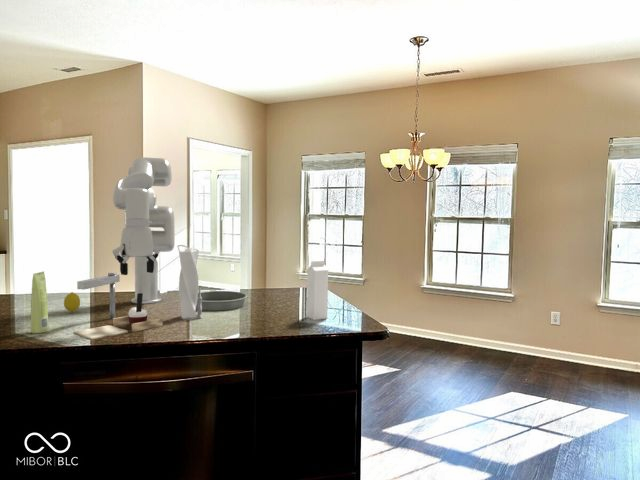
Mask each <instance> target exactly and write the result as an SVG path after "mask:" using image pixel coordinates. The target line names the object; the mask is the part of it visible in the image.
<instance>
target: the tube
mask: <svg viewBox="0 0 640 480" xmlns="http://www.w3.org/2000/svg"><path fill="white" fill-rule="evenodd" d="M32 275H33V276H32V279H31V280H32V281H31V283H32V284H31V293H30V294H31V298H30V299H31V300H30V301H31V302H30V307H31V308H30V333H32V334H43V333H45V332H48V331H49V311H48V310H49V309H48V308H49V307H48V294H47V293H48V291H47V284H46V283H47V282H46V275H45V271H39V272H35V273H33V274H32Z"/></svg>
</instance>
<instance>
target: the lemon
mask: <svg viewBox="0 0 640 480" xmlns="http://www.w3.org/2000/svg"><path fill="white" fill-rule="evenodd" d="M80 305H81V300H80V297H79V295H78V294H77V293H74V292H72V291H71V292H70V293H68V294H67V295H65V297H64V299H63V306H64V308H65V310H67V311H68V312H70V313H74V312H75V311H77V310H79V308H80Z"/></svg>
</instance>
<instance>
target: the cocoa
mask: <svg viewBox="0 0 640 480" xmlns="http://www.w3.org/2000/svg"><path fill="white" fill-rule="evenodd" d="M142 297H143V294H142V293H138V294H137V303H136V306H135V307H131V308H130V309H129V310H128V315H127V316H128V318H129V323H128V324H129V325H130V326H132V324H133V323H139V322H144V321H148V311H147V310H146V309H144V308H142V307H143V304H142Z"/></svg>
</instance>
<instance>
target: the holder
mask: <svg viewBox="0 0 640 480" xmlns="http://www.w3.org/2000/svg"><path fill="white" fill-rule="evenodd" d="M128 316H129V315H125V316H119V317H115V318H113V319H112V326H114V327H117V326H122V325H127V324H130V323H129V318H128ZM159 327H163V318H162V317H161V318H156V319H150V320H147V321H144V322H139V323H133V324H132V325H131V332H139V331H143V330H147V329H153V328H159Z"/></svg>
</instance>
